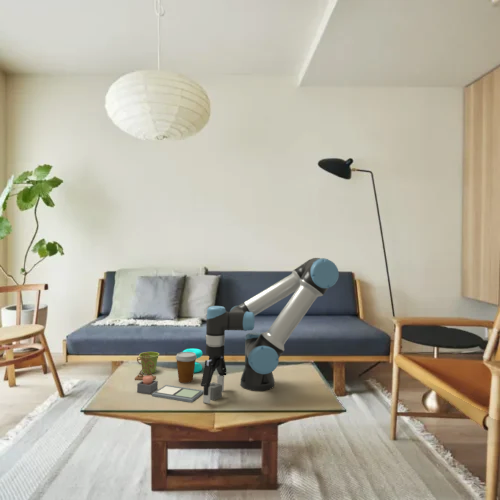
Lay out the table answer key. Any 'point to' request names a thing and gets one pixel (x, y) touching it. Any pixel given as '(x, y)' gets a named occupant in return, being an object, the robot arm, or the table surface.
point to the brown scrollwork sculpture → (144, 367)
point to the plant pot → (152, 357)
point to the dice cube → (215, 391)
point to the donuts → (198, 353)
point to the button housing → (147, 387)
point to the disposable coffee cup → (186, 366)
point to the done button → (147, 380)
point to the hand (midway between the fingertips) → (213, 396)
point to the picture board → (178, 393)
